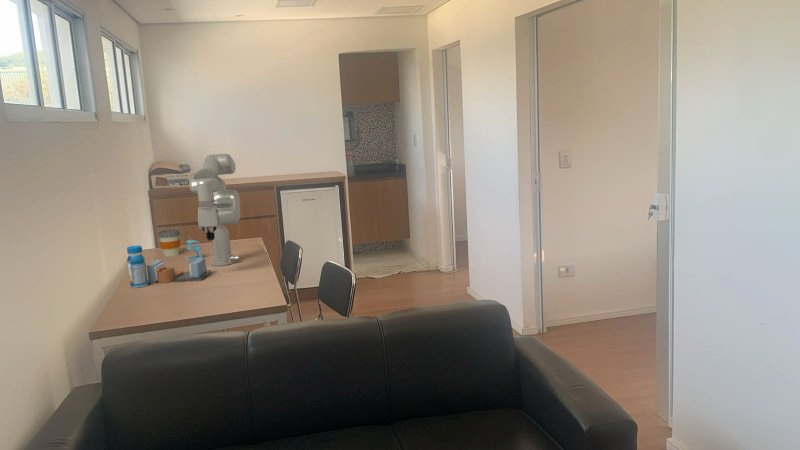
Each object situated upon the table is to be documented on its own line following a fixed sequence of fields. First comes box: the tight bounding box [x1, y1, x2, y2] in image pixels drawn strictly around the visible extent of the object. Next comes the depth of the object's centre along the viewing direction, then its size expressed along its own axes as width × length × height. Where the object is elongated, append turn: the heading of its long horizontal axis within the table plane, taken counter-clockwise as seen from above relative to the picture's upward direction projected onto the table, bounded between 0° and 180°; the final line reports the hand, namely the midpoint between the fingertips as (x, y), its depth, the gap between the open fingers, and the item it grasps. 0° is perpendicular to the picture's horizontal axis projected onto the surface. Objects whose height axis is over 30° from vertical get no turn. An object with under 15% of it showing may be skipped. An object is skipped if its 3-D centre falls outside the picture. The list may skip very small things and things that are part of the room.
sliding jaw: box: [188, 257, 208, 277], centre depth 320 cm, size 4×13×7 cm, turn 0°
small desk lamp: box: [185, 239, 203, 262], centre depth 367 cm, size 8×8×12 cm
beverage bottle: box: [126, 244, 149, 289], centre depth 308 cm, size 8×8×20 cm
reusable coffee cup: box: [157, 229, 181, 258], centre depth 384 cm, size 13×13×15 cm
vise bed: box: [174, 269, 212, 283], centre depth 321 cm, size 14×16×2 cm
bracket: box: [156, 266, 185, 285], centre depth 320 cm, size 18×8×7 cm, turn 174°
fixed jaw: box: [146, 259, 166, 284], centre depth 320 cm, size 4×13×9 cm, turn 0°
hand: (210, 239), depth 317 cm, fingers closed
